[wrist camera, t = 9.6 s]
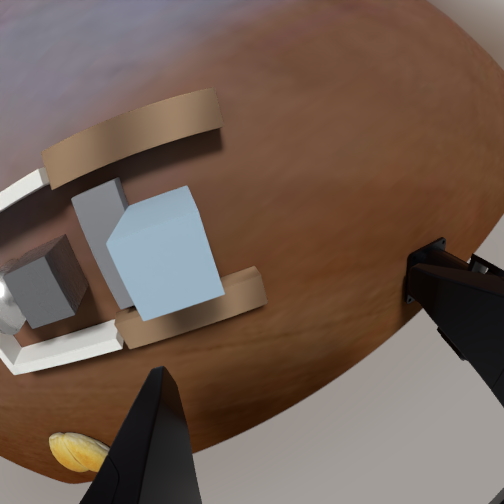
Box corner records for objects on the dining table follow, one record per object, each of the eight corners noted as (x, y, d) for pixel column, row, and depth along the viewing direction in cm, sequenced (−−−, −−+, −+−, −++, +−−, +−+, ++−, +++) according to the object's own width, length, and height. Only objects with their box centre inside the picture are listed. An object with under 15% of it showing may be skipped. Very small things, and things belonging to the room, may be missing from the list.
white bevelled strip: (54, 165, 13) (38, 169, 11) (125, 327, 19) (122, 348, 17) (-46, 232, 11) (-62, 243, 9) (21, 357, 17) (14, 375, 15)
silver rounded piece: (26, 252, 15) (1, 276, 11) (48, 298, 16) (31, 329, 13) (-5, 267, 14) (-29, 291, 10) (17, 309, 16) (-2, 338, 12)
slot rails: (210, 91, 15) (214, 86, 13) (261, 293, 21) (268, 303, 20) (50, 151, 13) (40, 152, 12) (131, 336, 19) (129, 349, 18)
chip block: (66, 233, 15) (44, 256, 12) (89, 283, 17) (75, 314, 14) (26, 252, 15) (2, 276, 11) (49, 298, 16) (32, 328, 13)
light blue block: (178, 155, 16) (184, 161, 10) (212, 266, 19) (236, 326, 13) (78, 193, 15) (31, 224, 8) (123, 297, 18) (111, 365, 12)
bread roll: (123, 457, 26) (124, 481, 23) (71, 456, 24) (70, 477, 20) (95, 429, 23) (94, 456, 19) (40, 427, 21) (36, 451, 17)
